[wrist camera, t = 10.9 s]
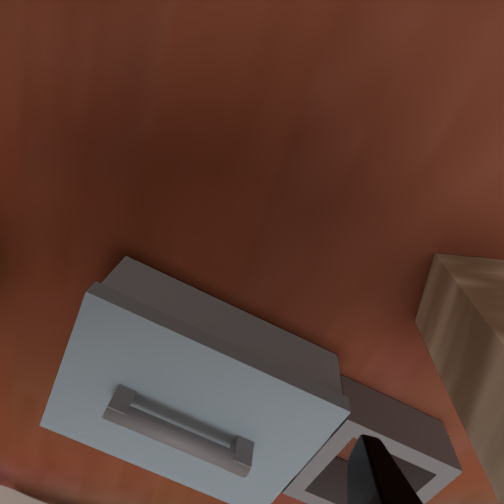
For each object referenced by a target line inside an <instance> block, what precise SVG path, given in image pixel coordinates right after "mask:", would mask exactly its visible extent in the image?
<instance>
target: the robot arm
mask: <svg viewBox="0 0 504 504" xmlns="http://www.w3.org/2000/svg"><path fill="white" fill-rule="evenodd" d="M347 504H423V503H422V501H421V500H420V498H419V497H418V495H417V494H416V492H415V490H414V489H413V487H412V486H411V484H410V483H409V481H408V480H407V478H406V477H405V475H404V474H403V472H402V471H401V469H400V468H399V466H398V465H397V463H396V462H395V460H394V459H393V457H392V456H391V454H390V453H389V451H388V450H387V448H386V447H385V445H384V444H383V442H382V441H381V440H380V439H379V438H377V437H373V436H369V435H365V434H362V435H360V436H359V438H358V440H357V442H356V444H355V446H354V448H353V450H352V452H351V454H350V456H349V460H348V466H347Z"/></svg>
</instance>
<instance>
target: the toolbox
mask: <svg viewBox="0 0 504 504" xmlns="http://www.w3.org/2000/svg"><path fill="white" fill-rule="evenodd" d="M40 426H42V427H44V428H47V429H49V430H52V431H54V432H57V433H59V434H61V435H64V436H66V437H69V438H71V439H74V440H76V441H78V442H81V443H83V444H86V445H88V446H91V447H93V448H95V449H98V450H100V451H103V452H105V453H108V454H110V455H112V456H115V457H117V458H120V459H122V460H125V461H127V462H130V463H132V464H134V465H137V466H139V467H142V468H144V469H147V470H149V471H151V472H154V473H156V474H159V475H161V476H164V477H166V478H168V479H171V480H173V481H176V482H178V483H181V484H183V485H185V486H188V487H190V488H193V489H195V490H198V491H200V492H202V493H205V494H207V495H210V496H212V497H215V498H217V499H220V500H222V501H224V502H227V503H229V504H271V503H272V502H273V500H274V499H275V498H276V497H277V496H278V495H279V494H280V493H281V491H282V493H283V494H286V495H288V496H290V497H293V498H295V499H297V500H300V501H302V502H305V503H307V504H347V466H348V462H347V461H345V460H343V459H340V458H338V457H336V455H337V454H338V453H339V452H340V451H341V450H342V449H343V448H344V447H345V446H346V445H347V443H348V442H349V441H350V440H351V439H352V438H353V437H354V438H356V439H358V438H359V436H360V435H362V434H365V435H369V436H373V437H377V438H379V439H380V440H381V441H382V442H383V444H384V445H385V447H386V448H387V450H388V451H389V453H390V454H391V456H392V457H393V459H394V460H395V462H396V463H397V465H398V466H399V468H400V469H401V471H402V472H403V474H404V475H405V477H406V478H407V480H408V481H409V483H410V484H411V486H412V487H413V489H414V490H415V492H416V494H417V495H418V497H419V498H420V500H421V501H422V503H423V504H425V503H426V502H427V501H429V500H430V499H431V498H432V497H433V496H435V495H436V494H437V493H438V492H439V491H441V490H442V489H443V488H444V487H445V486H447V485H448V484H449V483H450V482H451V481H453V480H454V479H455V478H456V477H457V476H459V475H460V474H461V473H462V472H463V470H462V468H461V465H460V463H459V461H458V458H457V456H456V453H455V451H454V448H453V446H452V444H451V441H450V439H449V436H448V434H447V432H446V429H445V427H444V424H443V422H442V421H440V420H438V419H436V418H433V417H431V416H429V415H427V414H425V413H423V412H420V411H418V410H416V409H414V408H412V407H410V406H408V405H405V404H403V403H401V402H399V401H397V400H395V399H393V398H390V397H388V396H386V395H384V394H382V393H380V392H377V391H375V390H373V389H371V388H369V387H367V386H365V385H362V384H360V383H358V382H356V381H354V380H352V379H350V378H347V377H345V376H343V375H340V371H339V364H338V358H337V355H336V354H334V353H332V352H330V351H328V350H326V349H323V348H321V347H319V346H317V345H315V344H313V343H311V342H309V341H306V340H304V339H302V338H300V337H298V336H296V335H294V334H292V333H289V332H287V331H285V330H283V329H281V328H279V327H277V326H275V325H272V324H270V323H268V322H266V321H264V320H262V319H260V318H258V317H255V316H253V315H251V314H249V313H247V312H245V311H243V310H241V309H238V308H236V307H234V306H232V305H230V304H228V303H226V302H224V301H221V300H219V299H217V298H215V297H213V296H211V295H209V294H207V293H204V292H202V291H200V290H198V289H196V288H194V287H192V286H190V285H187V284H185V283H183V282H181V281H179V280H177V279H175V278H173V277H170V276H168V275H166V274H164V273H162V272H160V271H158V270H156V269H153V268H151V267H149V266H147V265H145V264H143V263H141V262H139V261H136V260H134V259H132V258H130V257H128V256H125V257H124V258H123V259H122V260H121V262H120V263H119V264H118V265H117V266H116V267H115V268H114V269H113V270H112V272H111V273H110V274H109V275H108V276H107V277H106V278H105V279H104V280H103V281H102V283H99V282H96V281H95V282H94V283H93V285H92V286H91V287H90V288H89V289H88V290H87V291H86V293H85V296H84V298H83V301H82V304H81V307H80V310H79V313H78V316H77V319H76V322H75V325H74V327H73V330H72V333H71V336H70V339H69V342H68V345H67V348H66V351H65V354H64V357H63V359H62V362H61V365H60V368H59V371H58V374H57V377H56V380H55V383H54V386H53V388H52V391H51V394H50V397H49V400H48V403H47V406H46V409H45V412H44V415H43V417H42V420H41V423H40Z"/></svg>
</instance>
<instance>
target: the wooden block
mask: <svg viewBox="0 0 504 504" xmlns="http://www.w3.org/2000/svg"><path fill="white" fill-rule="evenodd" d="M415 324H416V326H417V328H418V330H419V332H420V334H421V337H422V339H423V341H424V343H425V345H426V347H427V349H428V352H429V354H430V356H431V358H432V360H433V362H434V364H435V366H436V369H437V371H438V373H439V375H440V377H441V379H442V381H443V384H444V386H445V388H446V390H447V392H448V394H449V396H450V399H451V401H452V403H453V405H454V407H455V409H456V411H457V414H458V416H459V418H460V420H461V422H462V424H463V426H464V429H465V431H466V433H467V435H468V437H469V439H470V441H471V443H472V446H473V448H474V450H475V452H476V454H477V456H478V458H479V461H480V463H481V465H482V467H483V469H484V471H485V473H486V476H487V478H488V480H489V482H490V484H491V486H492V488H493V491H494V493H495V495H496V497H497V499H498V501H499V503H500V504H504V260H501V259H490V258H480V257H470V256H460V255H450V254H439V253H435V254H434V257H433V261H432V264H431V268H430V271H429V274H428V278H427V281H426V285H425V288H424V291H423V295H422V298H421V302H420V305H419V309H418V312H417V315H416V319H415Z"/></svg>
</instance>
